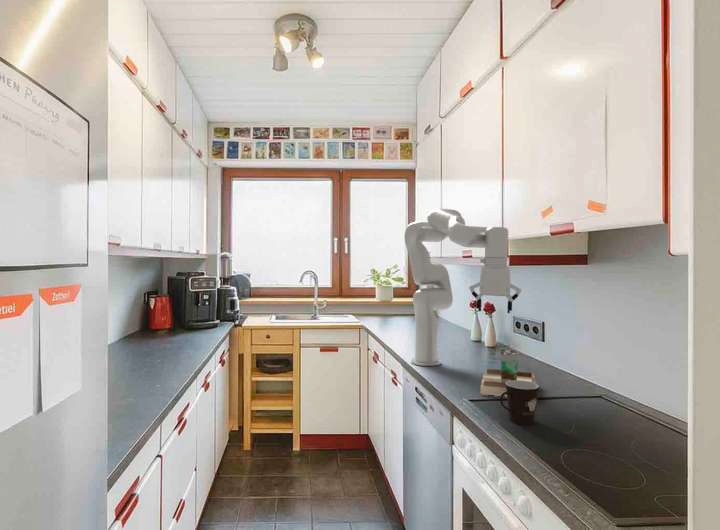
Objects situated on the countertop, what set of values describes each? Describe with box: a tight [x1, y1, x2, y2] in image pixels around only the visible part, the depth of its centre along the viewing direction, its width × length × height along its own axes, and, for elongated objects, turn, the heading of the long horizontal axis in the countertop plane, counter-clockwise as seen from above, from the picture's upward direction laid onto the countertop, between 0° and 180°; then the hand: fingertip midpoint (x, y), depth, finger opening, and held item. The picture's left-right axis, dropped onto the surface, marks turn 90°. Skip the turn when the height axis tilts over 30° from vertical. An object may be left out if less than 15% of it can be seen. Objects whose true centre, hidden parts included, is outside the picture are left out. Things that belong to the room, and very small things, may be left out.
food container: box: [500, 347, 521, 382], centre depth 153 cm, size 12×6×10 cm, turn 163°
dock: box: [480, 368, 537, 398], centre depth 153 cm, size 18×17×4 cm
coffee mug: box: [499, 380, 540, 426], centre depth 124 cm, size 12×9×10 cm
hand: (494, 311), depth 157 cm, fingers open, 9 cm apart
